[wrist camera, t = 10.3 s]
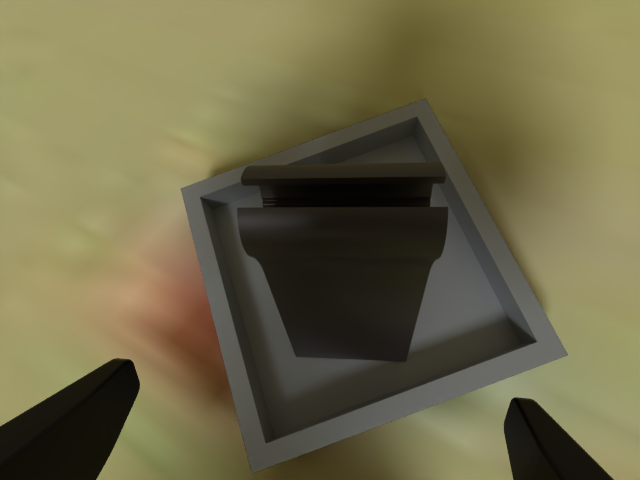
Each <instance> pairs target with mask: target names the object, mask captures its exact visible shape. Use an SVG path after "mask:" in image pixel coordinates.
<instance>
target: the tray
mask: <svg viewBox="0 0 640 480" xmlns="http://www.w3.org/2000/svg"><path fill="white" fill-rule="evenodd" d="M425 162H441V163H442V164H443V166H444V169H445V173H446V179H445V183H442V184H433V187H432V194H431V199H430V202H431V205H430V207H448V225H447V234H446V241H445V245H444V249H443V252H442V255H441V257H440V258H439V259H437V260H436V261H435V262H434V263H433V265H432V267H431V269H430V272H429V276H428V280H427V284H426V288H425V291H424V295H423V299H422V303H421V307H420V310H419V314H418V318H417V322H416V326H415V329H414V333H413V337H412V341H411V345H410V348H409V352H408V356H407V360H406V362H400V361H377V360H354V359H330V358H307V357H296V356H295V353H294V351H293V348H292V345H291V343H290V340H289V337H288V335H287V332H286V330H285V327H284V324H283V322H282V319H281V316H280V314H279V311H278V308H277V306H276V303H275V300H274V298H273V295H272V293H271V290H270V287H269V285H268V282H267V279H266V277H265V274H264V271H263V269H262V267H261V265H260V264H259V262H258V261H257V260H256V259H255V258H253V257H250V256H248V255H247V254H246V252H245V250H244V248H243V246H242V243H241V239H240V234H239V229H238V219H237V208H249V207H263V206H262V203H263V200H262V198H261V192H260V188H259V186H243V185H242V182H241V176H242V173H243V171H244V169H245V168H246V167H247V166H252V165H310V164H367V163H425ZM181 192H182V196H183V200H184V204H185V208H186V212H187V216H188V220H189V224H190V228H191V232H192V236H193V240H194V244H195V248H196V252H197V256H198V260H199V264H200V268H201V272H202V276H203V280H204V284H205V288H206V292H207V296H208V300H209V304H210V308H211V312H212V316H213V320H214V324H215V328H216V332H217V336H218V340H219V344H220V348H221V352H222V356H223V360H224V364H225V368H226V372H227V376H228V380H229V385H230V389H231V393H232V397H233V401H234V405H235V409H236V413H237V417H238V421H239V425H240V429H241V433H242V437H243V441H244V445H245V449H246V453H247V457H248V461H249V465H250V469H251V473H255V472H258V471H260V470H263V469H266V468H268V467H271V466H274V465H276V464H279V463H282V462H284V461H287V460H290V459H292V458H295V457H298V456H300V455H303V454H306V453H308V452H311V451H314V450H316V449H319V448H322V447H324V446H327V445H330V444H332V443H335V442H338V441H340V440H343V439H346V438H348V437H351V436H354V435H356V434H359V433H362V432H364V431H367V430H370V429H372V428H375V427H378V426H380V425H383V424H386V423H388V422H391V421H394V420H396V419H399V418H402V417H404V416H407V415H410V414H412V413H415V412H418V411H420V410H423V409H426V408H429V407H431V406H434V405H437V404H439V403H442V402H445V401H447V400H450V399H453V398H455V397H458V396H461V395H463V394H466V393H469V392H471V391H474V390H477V389H479V388H482V387H485V386H487V385H490V384H493V383H495V382H498V381H501V380H503V379H506V378H509V377H511V376H514V375H517V374H519V373H522V372H525V371H527V370H530V369H533V368H535V367H538V366H541V365H543V364H546V363H549V362H551V361H554V360H557V359H559V358H562V357H565V356H567V355H568V354H567V352H566V350H565V348H564V347H563V345H562V343H561V341H560V339H559V338H558V336H557V334H556V332H555V330H554V329H553V327H552V325H551V323H550V321H549V320H548V318H547V316H546V314H545V312H544V311H543V309H542V307H541V305H540V303H539V302H538V300H537V298H536V296H535V294H534V292H533V291H532V289H531V287H530V285H529V283H528V282H527V280H526V278H525V276H524V274H523V273H522V271H521V269H520V267H519V265H518V264H517V262H516V260H515V258H514V256H513V255H512V253H511V251H510V249H509V247H508V246H507V244H506V242H505V240H504V238H503V237H502V235H501V233H500V231H499V229H498V228H497V226H496V224H495V222H494V220H493V219H492V217H491V215H490V213H489V211H488V210H487V208H486V206H485V204H484V202H483V201H482V199H481V197H480V195H479V193H478V192H477V190H476V188H475V186H474V184H473V183H472V181H471V179H470V177H469V175H468V174H467V172H466V170H465V168H464V166H463V165H462V163H461V161H460V159H459V157H458V156H457V154H456V152H455V150H454V148H453V147H452V145H451V143H450V141H449V139H448V138H447V136H446V134H445V132H444V130H443V129H442V127H441V125H440V123H439V121H438V120H437V118H436V116H435V114H434V112H433V111H432V109H431V107H430V105H429V103H428V101H427V100H426V98H425V99H422V100H419V101H417V102H414V103H411V104H408V105H406V106H403V107H400V108H398V109H395V110H392V111H389V112H387V113H384V114H381V115H379V116H376V117H373V118H371V119H368V120H365V121H362V122H360V123H357V124H354V125H352V126H349V127H346V128H343V129H341V130H338V131H335V132H333V133H330V134H327V135H324V136H322V137H319V138H316V139H314V140H311V141H308V142H306V143H303V144H300V145H297V146H295V147H292V148H289V149H287V150H284V151H281V152H278V153H276V154H273V155H270V156H268V157H265V158H262V159H259V160H257V161H254V162H251V163H249V164H246V165H243V166H241V167H238V168H235V169H232V170H230V171H227V172H224V173H222V174H219V175H216V176H213V177H211V178H208V179H205V180H203V181H200V182H197V183H194V184H192V185H189V186H186V187H184V188H181Z"/></svg>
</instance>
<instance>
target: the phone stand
mask: <svg viewBox="0 0 640 480" xmlns="http://www.w3.org/2000/svg"><path fill="white" fill-rule="evenodd" d="M445 179H446V173H445V169H444V166H443V164H442V163H441V162H425V163H367V164H310V165H252V166H247V167H246V168H245V169H244V171H243V173H242V176H241V182H242V185H243V186H259V188H260V192H261V198H262V200H263V203H262V206H263V207H249V208H237V219H238V229H239V234H240V239H241V243H242V246H243V248H244V250H245V252H246V254H247V255H248V256H250V257H253V258H255V259H256V260H257V261H258V262H259V264H260V265H261V267H262V269H263V271H264V274H265V277H266V279H267V282H268V285H269V287H270V290H271V293H272V295H273V298H274V300H275V303H276V306H277V308H278V311H279V314H280V316H281V319H282V322H283V324H284V327H285V330H286V332H287V335H288V337H289V340H290V343H291V345H292V348H293V351H294V353H295V356H296V357H307V358H330V359H354V360H377V361H400V362H406V360H407V356H408V352H409V348H410V345H411V341H412V337H413V333H414V329H415V326H416V322H417V318H418V314H419V310H420V307H421V303H422V299H423V295H424V291H425V288H426V284H427V280H428V276H429V272H430V269H431V267H432V265H433V263H434V262H435V261H436V260H437V259H439V258H440V257H441V255H442V252H443V249H444V245H445V241H446V234H447V225H448V207H430V205H431V202H430V199H431V194H432V187H433V184H442V183H445Z"/></svg>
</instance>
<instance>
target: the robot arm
mask: <svg viewBox="0 0 640 480" xmlns="http://www.w3.org/2000/svg"><path fill="white" fill-rule="evenodd" d="M139 388H140V382H139V379H138V376H137V372H136V369H135V366H134V363H133V362H132V361H131V360H129V359H120V358H116V359H113V360H111V361H109V362H107V363H106V364H104V365H102V366H101V367H99V368H97V369H96V370H94V371H92V372H91V373H89V374H87V375H86V376H84V377H82V378H81V379H79V380H77V381H76V382H74V383H72V384H71V385H69V386H67V387H66V388H64V389H62V390H60V391H59V392H57V393H55V394H54V395H52V396H50V397H49V398H47V399H45V400H44V401H42V402H40V403H39V404H37V405H35V406H34V407H32V408H30V409H29V410H27V411H25V412H24V413H22V414H20V415H19V416H17V417H15V418H14V419H12V420H10V421H9V422H7V423H5V424H4V425H2V426H0V480H96V479H97V477H98V475H99V474H100V472H101V470H102V468H103V467H104V465H105V463H106V461H107V459H108V457H109V456H110V454H111V452H112V450H113V448H114V445H115V443H116V441H117V439H118V437H119V435H120V432H121V430H122V428H123V426H124V423H125V421H126V419H127V417H128V415H129V412H130V410H131V408H132V406H133V403H134V401H135V399H136V397H137V395H138V392H139ZM504 434H505V439H506V444H507V449H508V454H509V459H510V465H511V470H512V475H513V480H614V479H613V478H612V477H611V476H610V475H609V474H608V473H607V472H606V471H605V470H604V469H603V468H602V467H601V466H600V465H599V464H598V463H597V462H596V461H595V460H594V459H593V458H592V457H591V456H590V455H589V454H588V453H587V452H586V451H585V450H584V449H583V448H582V447H581V446H580V445H579V444H578V443H577V442H576V441H575V440H574V439H573V438H572V437H571V436H570V435H569V434H568V433H567V432H566V431H565V430H564V429H563V428H562V427H561V426H560V425H559V424H558V423H557V422H556V421H555V420H554V419H553V418H552V417H551V416H550V415H549V414H548V413H547V412H546V411H545V410H544V409H543V408H542V407H541V406H540V405H539V404H538V403H537V402H535V401H534V400H532V399H527V398H517V397H516V398H513V399H512V400H511V402H510V405H509V408H508V412H507V415H506V418H505V421H504Z"/></svg>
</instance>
